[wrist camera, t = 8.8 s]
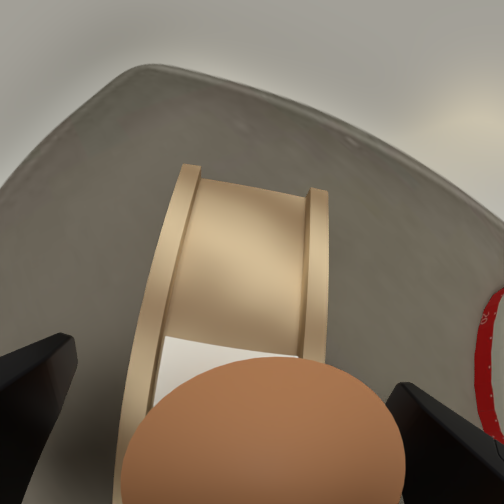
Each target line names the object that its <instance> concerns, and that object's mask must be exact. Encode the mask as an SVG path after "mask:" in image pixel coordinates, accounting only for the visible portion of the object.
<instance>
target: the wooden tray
mask: <svg viewBox="0 0 504 504" xmlns="http://www.w3.org/2000/svg"><path fill="white" fill-rule="evenodd" d="M328 276H329V217H328V191H324V190H320V189H316V188H310V190H309V192H308V194H307V196H306V198H304V197H299V196H294V195H290V194H285V193H280V192H275V191H270V190H265V189H260V188H255V187H249V186H244V185H238V184H233V183H227V182H221V181H216V180H210V179H204V178H201V166H196V165H190V164H183V165H182V168H181V171H180V174H179V177H178V180H177V183H176V186H175V189H174V192H173V195H172V198H171V201H170V204H169V207H168V211H167V214H166V217H165V220H164V224H163V227H162V230H161V234H160V237H159V241H158V244H157V248H156V251H155V255H154V259H153V262H152V266H151V270H150V274H149V277H148V281H147V285H146V289H145V293H144V297H143V302H142V306H141V310H140V314H139V319H138V323H137V328H136V333H135V337H134V342H133V347H132V352H131V357H130V362H129V368H128V373H127V379H126V385H125V391H124V397H123V404H122V410H121V417H120V425H119V433H118V441H117V450H116V460H115V470H114V483H113V499H112V504H123V503H122V497H121V470H122V464H123V459H124V456H125V453H126V450H127V447H128V445H129V442H130V440H131V438H132V436H133V435H134V433H135V431H136V429H137V427H138V426H139V424H140V423H141V422H142V420H143V419H144V418H145V416H146V415H147V414H148V412H149V411H150V410H151V409H152V408H153V405H154V398H155V392H156V386H157V380H158V374H159V368H160V362H161V356H162V351H163V346H164V340H165V336H168V337H173V338H178V339H183V340H189V341H194V342H200V343H205V344H211V345H217V346H223V347H230V348H236V349H243V350H250V351H257V352H265V353H273V354H282V355H291V356H298V358H301V359H307V360H313V361H317V362H320V363H323V364H325V351H326V333H327V311H328Z"/></svg>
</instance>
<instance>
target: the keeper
mask: <svg viewBox="0 0 504 504" xmlns="http://www.w3.org/2000/svg"><path fill="white" fill-rule="evenodd" d="M404 479H405V452H404V446H403V441H402V438H401V434H400V431H399V428H398V426H397V424H396V422H395V420H394V418H393V416H392V414H391V413H390V411H389V410H388V408H387V407H386V405H385V404H384V403H383V401H382V400H381V399H380V398H379V397H378V396H377V395H376V394H375V393H374V392H373V391H372V390H371V389H370V388H368V387H367V386H366V385H365V384H364V383H362V382H361V381H360V380H358V379H356V378H355V377H353V376H351V375H350V374H348V373H346V372H344V371H342V370H339V369H337V368H335V367H333V366H330V365H327V364H323V363H320V362H317V361H313V360H307V359H301V358H298V356H291V355H282V354H273V353H265V352H257V351H250V350H243V349H236V348H230V347H223V346H217V345H211V344H205V343H200V342H194V341H189V340H183V339H178V338H173V337H168V336H165V340H164V346H163V351H162V356H161V362H160V368H159V374H158V380H157V386H156V392H155V398H154V405H153V408H152V409H151V410H150V411H149V412H148V414H147V415H146V416H145V418H144V419H143V420H142V422H141V423H140V424H139V426H138V427H137V429H136V431H135V433H134V435H133V436H132V438H131V440H130V442H129V445H128V447H127V450H126V453H125V456H124V459H123V464H122V470H121V497H122V503H123V504H398V503H399V501H400V498H401V494H402V490H403V486H404Z"/></svg>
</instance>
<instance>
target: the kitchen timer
mask: <svg viewBox="0 0 504 504" xmlns="http://www.w3.org/2000/svg"><path fill="white" fill-rule="evenodd" d="M474 386H475V393H476V400H477V409H478V414H479V417H480V420H481V423H482V426H483V429H484V432H485V433H487V434H488V435H490V436H491V437H493V438H494V439H496V440H497V441H499V442H500V443H502V444H503V445H504V288H502V289H501V290H500V291H498V292H497V293H495V294H494V295H493V296H492V298H491V299H490V301H489V303H488V304H487V306H486V307H485V309H484V312H483V316H482V319H481V322H480V326H479V329H478V334H477V343H476V350H475V382H474Z"/></svg>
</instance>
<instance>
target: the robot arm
mask: <svg viewBox="0 0 504 504" xmlns="http://www.w3.org/2000/svg"><path fill="white" fill-rule="evenodd" d="M77 364H78V359H77V353H76V347H75V341H74V338H73V337H72V336H70V335H67V334H64V333H57V334H54V335H52V336H50V337H47V338H45V339H42V340H40V341H38V342H35V343H33V344H30V345H28V346H25V347H23V348H21V349H18V350H16V351H13V352H11V353H9V354H6V355H4V356H1V357H0V504H21V503H22V501H23V498H24V495H25V492H26V490H27V487H28V485H29V482H30V479H31V477H32V474H33V472H34V470H35V467H36V465H37V462H38V460H39V458H40V455H41V453H42V451H43V448H44V446H45V444H46V442H47V440H48V437H49V435H50V433H51V431H52V429H53V427H54V424H55V422H56V420H57V418H58V416H59V414H60V411H61V409H62V406H63V404H64V401H65V398H66V395H67V392H68V389H69V387H70V384H71V381H72V379H73V376H74V374H75V371H76V368H77ZM385 405H386V407H387V408H388V410H389V411H390V413H391V414H392V416H393V418H394V420H395V422H396V424H397V426H398V428H399V431H400V434H401V438H402V441H403V446H404V452H405V479H404V486H403V490H402V496H403V500H404V504H504V445H503V444H502V443H500V442H499V441H497V440H496V439H494V438H493V437H491V436H490V435H488V434H487V433H485V432H484V431H482V430H481V429H479V428H478V427H476V426H475V425H473V424H472V423H470V422H469V421H467V420H466V419H464V418H463V417H461V416H460V415H458V414H457V413H455V412H454V411H452V410H451V409H449V408H448V407H446V406H445V405H443V404H442V403H440V402H439V401H437V400H436V399H435V398H433V397H432V396H430V395H429V394H427V393H426V392H424V391H423V390H421V389H420V388H418V387H417V386H415V385H414V384H413V383H410V382H400V383H398V384H397V385H396V386H395V388H394V390H393V391H392V393H391V395H390V396H389V398H388V400H387V401H386V404H385Z"/></svg>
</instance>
